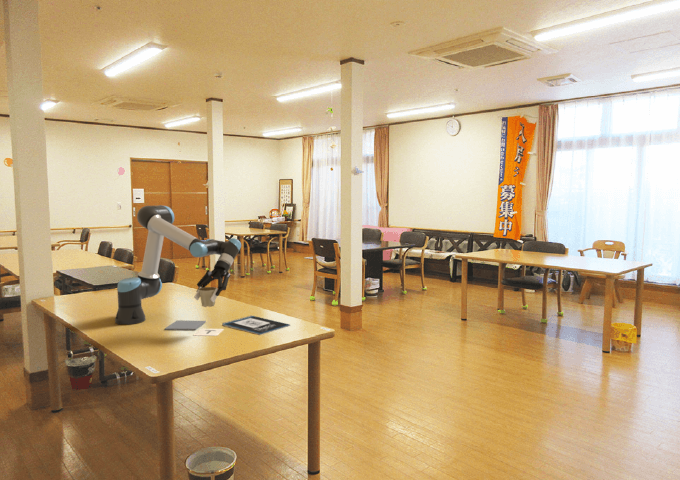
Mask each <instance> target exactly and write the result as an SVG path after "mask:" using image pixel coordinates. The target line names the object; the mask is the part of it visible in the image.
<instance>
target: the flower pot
mask: <svg viewBox="0 0 680 480" xmlns="http://www.w3.org/2000/svg"><path fill="white" fill-rule="evenodd" d="M198 288H199V287H198ZM198 288H197V290H199V293H200V301H201V306H202V307H203V308H207V307H209V308H210V307H215V305H216V304H215V303H216V301H215V302H212V301H211V297H212V295H213V293H214V291H215V289H216V288H217V287H215V286H209V287H208V286H206V287H204V288H199V289H198Z"/></svg>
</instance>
